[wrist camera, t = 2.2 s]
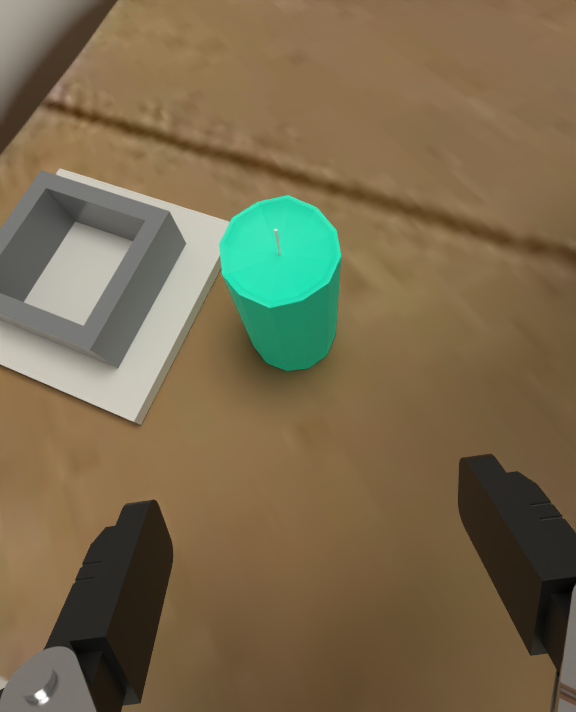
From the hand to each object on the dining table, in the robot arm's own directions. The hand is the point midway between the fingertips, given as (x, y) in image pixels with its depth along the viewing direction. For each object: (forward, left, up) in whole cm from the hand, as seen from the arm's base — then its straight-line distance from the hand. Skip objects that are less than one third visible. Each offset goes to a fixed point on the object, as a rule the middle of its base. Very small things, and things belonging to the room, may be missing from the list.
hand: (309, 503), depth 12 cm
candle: (-10, -6, -17) cm, 20 cm away
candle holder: (-8, -21, -16) cm, 28 cm away
